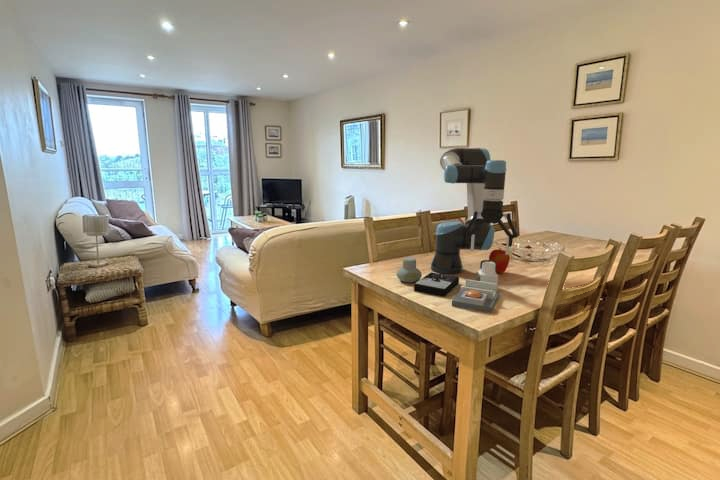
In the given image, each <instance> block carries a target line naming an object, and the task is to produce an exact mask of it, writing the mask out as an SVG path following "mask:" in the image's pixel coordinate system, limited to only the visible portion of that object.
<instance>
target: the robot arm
mask: <svg viewBox="0 0 720 480" xmlns="http://www.w3.org/2000/svg"><path fill="white" fill-rule="evenodd" d="M439 164H440V167H441V169H442V170H443V171H444V172H443V181H444V183H446V184H466V197H467V199H466V203H467V220H466V221H464V224H463V223H462V221H444V222H441V223H439V224H437V226H436V232H435V250H434V251H435V252H434V256H433V258H432V261H431V264H430V270H431V271H433V272H434V273H438V274H444V275H454V274H460V273H462V272H463V268H464V266H463V262H462V258H461V255H460V254H461V250H470V252H473V251H475V250H476V251H488V250H490V249H491V248H492V246H493V244H494V239H495V231H496V230H495V226H494V225H495V224H498V225H499V226H500V227H501V229H502V230H503V232H504V233H505V234H506V236H507V238H506V244H505V245H506V247H505V251H506V255H508V254H509V251H510V249H509V248H510V247H512V246H513V241H514V238H518V236H519V234H518V233H519V232H518V231H517V229H516V227H515V225H514V223H513V220H512V214H511V212H508V213H507V212H506V213H504V212H503V209H504V201H503V200H504V197H505V185H506V175H507V173H506V172H507V162H506V161H505V160H501V159H497V160H496V159H495V160H494V159H491V154H490V152H489V150H488V149H487V148H481V147H476V148H473V147H470V148H468V147H459V148H458V147H457V148H452V149H448V150H447V151H445V152H444V153H443V154H442V155H441V156H440V159H439ZM503 217H504V219H505V220H506V221H507V223H508V226H509V228H510V230H511V231H510V230H509V228H507V225H505V224H504V222H503V221H502V218H503ZM491 224H494V225H491Z"/></svg>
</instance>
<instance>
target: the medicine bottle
mask: <svg viewBox="0 0 720 480" xmlns="http://www.w3.org/2000/svg"><path fill="white" fill-rule="evenodd" d="M495 270H496V263H495V262H494V261H491V260H489V259H483V260H481V261H480V266H479V269H478V270H477V271H476V281H483V282H490V283H497V284H498V282H499V281H498V279H499V275H498V273H496V272H495Z"/></svg>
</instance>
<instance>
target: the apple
mask: <svg viewBox="0 0 720 480" xmlns="http://www.w3.org/2000/svg"><path fill="white" fill-rule="evenodd" d="M510 259H511V257H510V253H508V255H506V250H503V249H500V248H499V249H493V250H491V252H490V253H489V255H488V260H491V261H494V262H495V263H496V270H495V272H496V274H503V273H504V272H506V271H507V268H508V266H509V263H510Z"/></svg>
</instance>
